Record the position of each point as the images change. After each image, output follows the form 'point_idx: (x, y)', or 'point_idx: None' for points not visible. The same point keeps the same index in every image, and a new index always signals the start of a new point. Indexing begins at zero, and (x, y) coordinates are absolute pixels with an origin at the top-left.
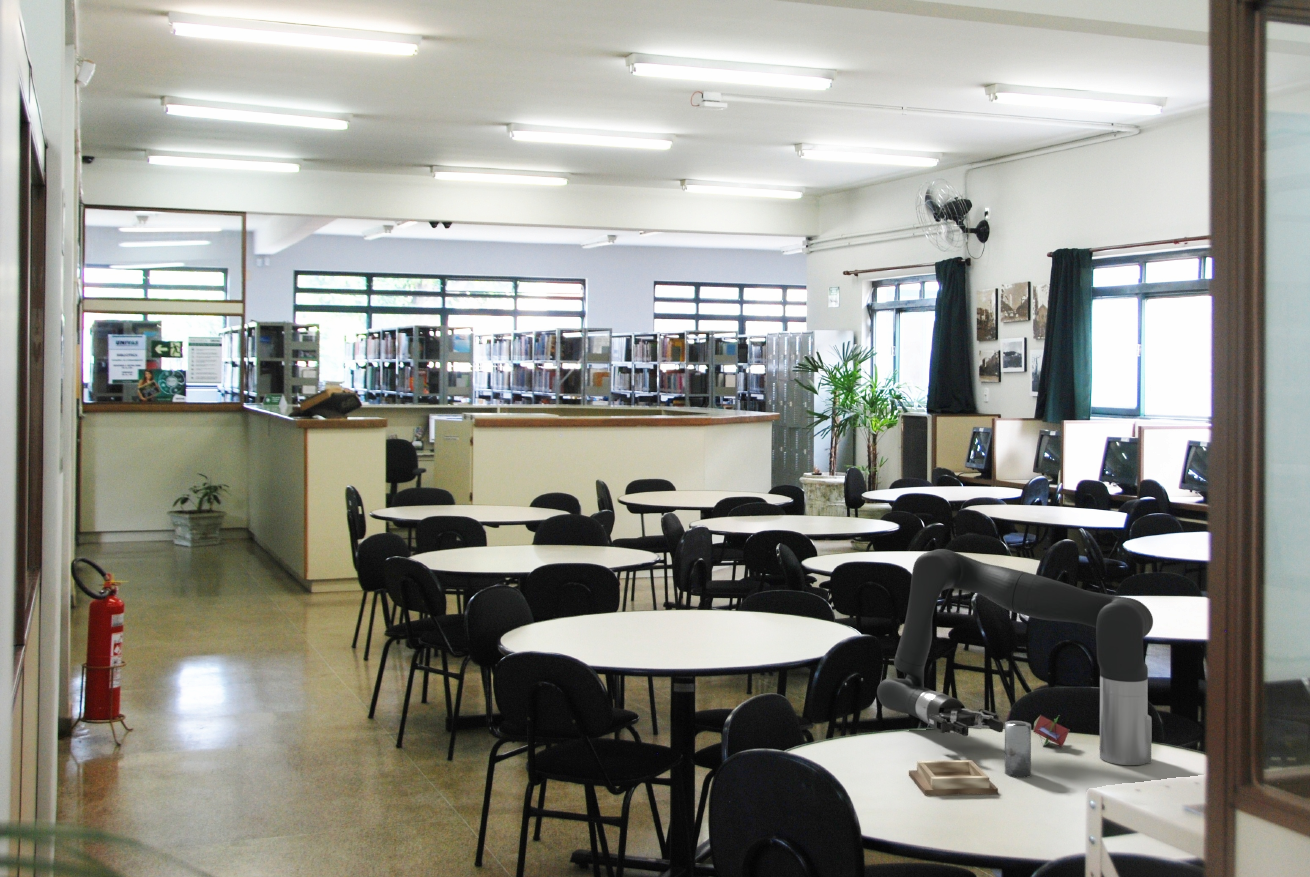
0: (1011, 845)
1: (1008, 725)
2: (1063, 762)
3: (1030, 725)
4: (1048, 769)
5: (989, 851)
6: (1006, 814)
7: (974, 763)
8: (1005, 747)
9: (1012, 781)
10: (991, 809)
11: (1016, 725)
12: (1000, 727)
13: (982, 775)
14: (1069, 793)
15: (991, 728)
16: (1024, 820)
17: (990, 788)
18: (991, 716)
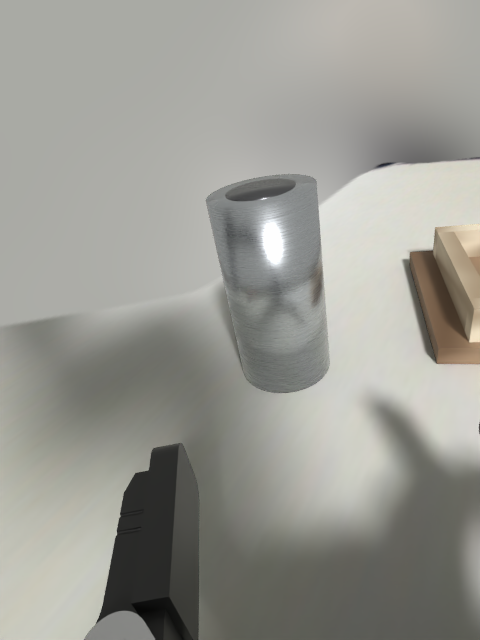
0: (439, 171)
1: (311, 178)
2: (46, 442)
3: (222, 188)
4: (160, 387)
5: (475, 162)
6: (419, 214)
7: (466, 288)
8: (323, 280)
9: (336, 317)
10: (445, 222)
11: (279, 180)
12: (187, 462)
13: (453, 233)
14: None
15: (197, 604)
16: (393, 206)
17: (430, 252)
18: (111, 636)
